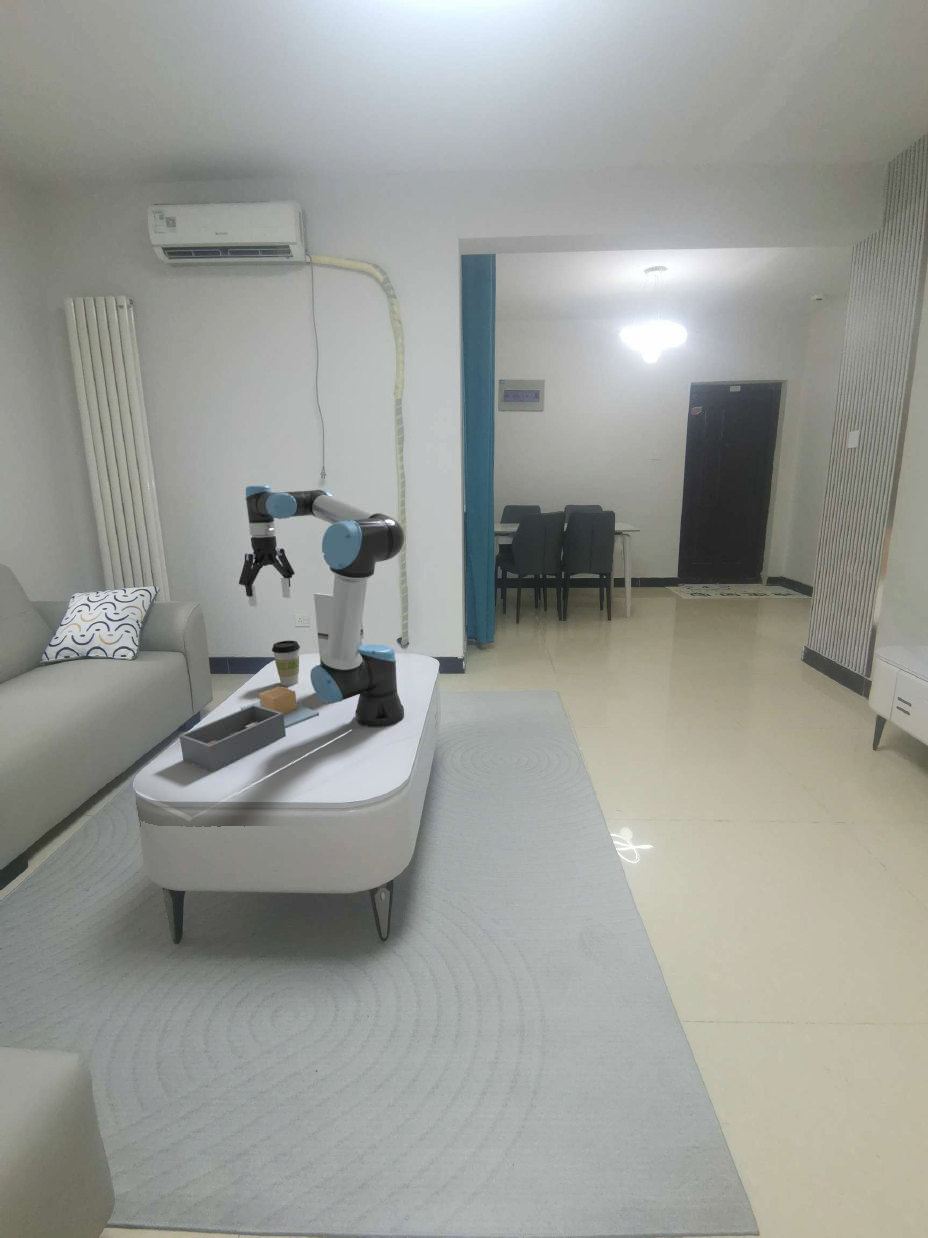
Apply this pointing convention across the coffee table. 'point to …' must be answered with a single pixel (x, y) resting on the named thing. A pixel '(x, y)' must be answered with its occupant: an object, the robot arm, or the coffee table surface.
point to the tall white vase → (325, 620)
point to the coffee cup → (287, 661)
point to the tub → (232, 737)
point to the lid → (284, 705)
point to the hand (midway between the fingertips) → (270, 601)
